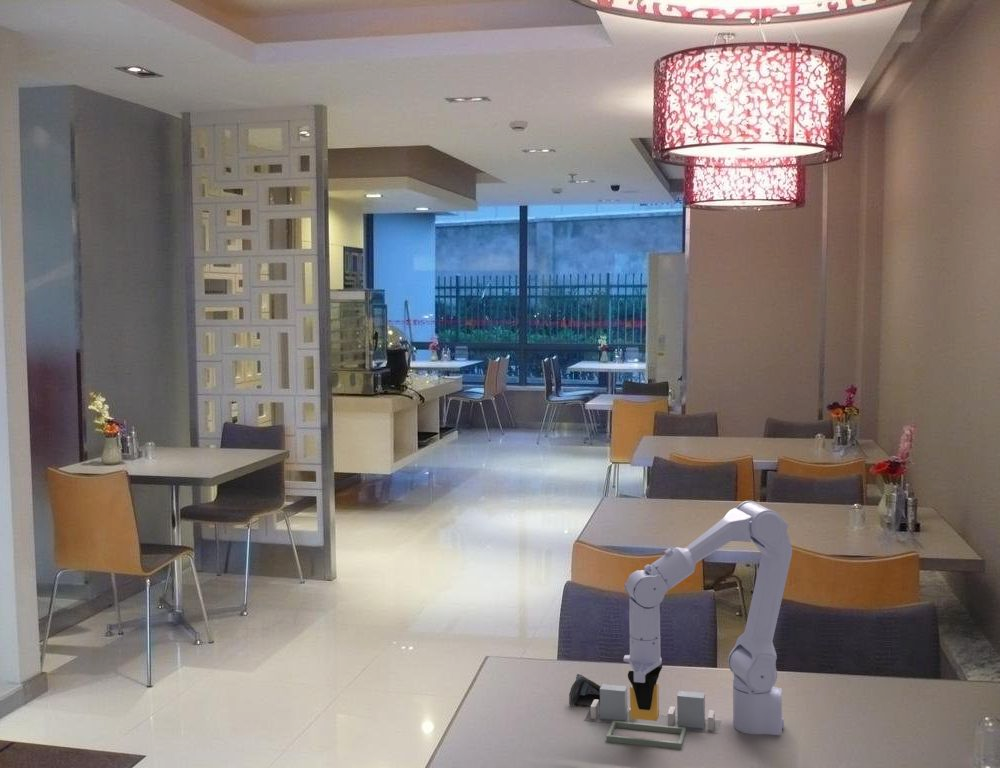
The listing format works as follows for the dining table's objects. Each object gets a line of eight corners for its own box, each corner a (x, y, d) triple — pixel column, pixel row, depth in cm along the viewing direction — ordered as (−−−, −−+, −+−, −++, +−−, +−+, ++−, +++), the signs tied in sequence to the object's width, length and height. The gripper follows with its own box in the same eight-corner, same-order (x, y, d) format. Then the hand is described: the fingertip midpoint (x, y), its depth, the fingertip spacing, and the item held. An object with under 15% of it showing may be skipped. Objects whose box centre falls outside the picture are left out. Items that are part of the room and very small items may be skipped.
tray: (685, 737, 194) (685, 727, 194) (681, 754, 187) (681, 743, 187) (613, 730, 198) (613, 720, 198) (606, 746, 191) (606, 735, 191)
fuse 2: (705, 722, 198) (704, 693, 197) (703, 728, 195) (703, 698, 195) (679, 720, 199) (678, 690, 199) (677, 725, 197) (677, 695, 196)
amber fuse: (659, 715, 193) (658, 684, 192) (657, 720, 190) (656, 689, 190) (632, 712, 194) (632, 682, 193) (630, 718, 192) (630, 687, 191)
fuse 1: (627, 715, 202) (627, 686, 202) (625, 720, 200) (624, 691, 199) (602, 713, 204) (602, 684, 203) (600, 718, 201) (599, 689, 201)
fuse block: (721, 725, 199) (720, 708, 198) (718, 738, 193) (718, 721, 193) (590, 713, 206) (590, 696, 206) (584, 725, 201) (583, 708, 200)
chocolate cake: (634, 704, 211) (595, 659, 215) (631, 708, 205) (590, 661, 208) (600, 735, 212) (562, 689, 215) (596, 740, 205) (556, 693, 208)
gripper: (630, 621, 199) (631, 688, 200) (616, 647, 185) (617, 719, 186) (666, 624, 197) (667, 692, 198) (655, 650, 183) (656, 723, 184)
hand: (645, 705), depth 192 cm, fingers closed on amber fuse, 3 cm apart
